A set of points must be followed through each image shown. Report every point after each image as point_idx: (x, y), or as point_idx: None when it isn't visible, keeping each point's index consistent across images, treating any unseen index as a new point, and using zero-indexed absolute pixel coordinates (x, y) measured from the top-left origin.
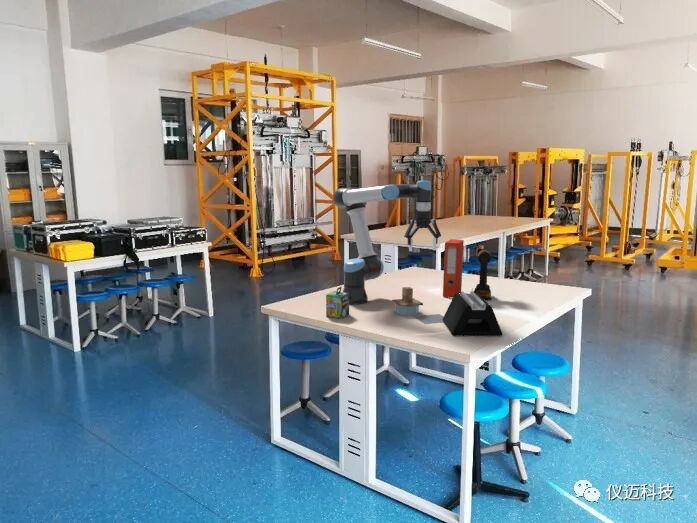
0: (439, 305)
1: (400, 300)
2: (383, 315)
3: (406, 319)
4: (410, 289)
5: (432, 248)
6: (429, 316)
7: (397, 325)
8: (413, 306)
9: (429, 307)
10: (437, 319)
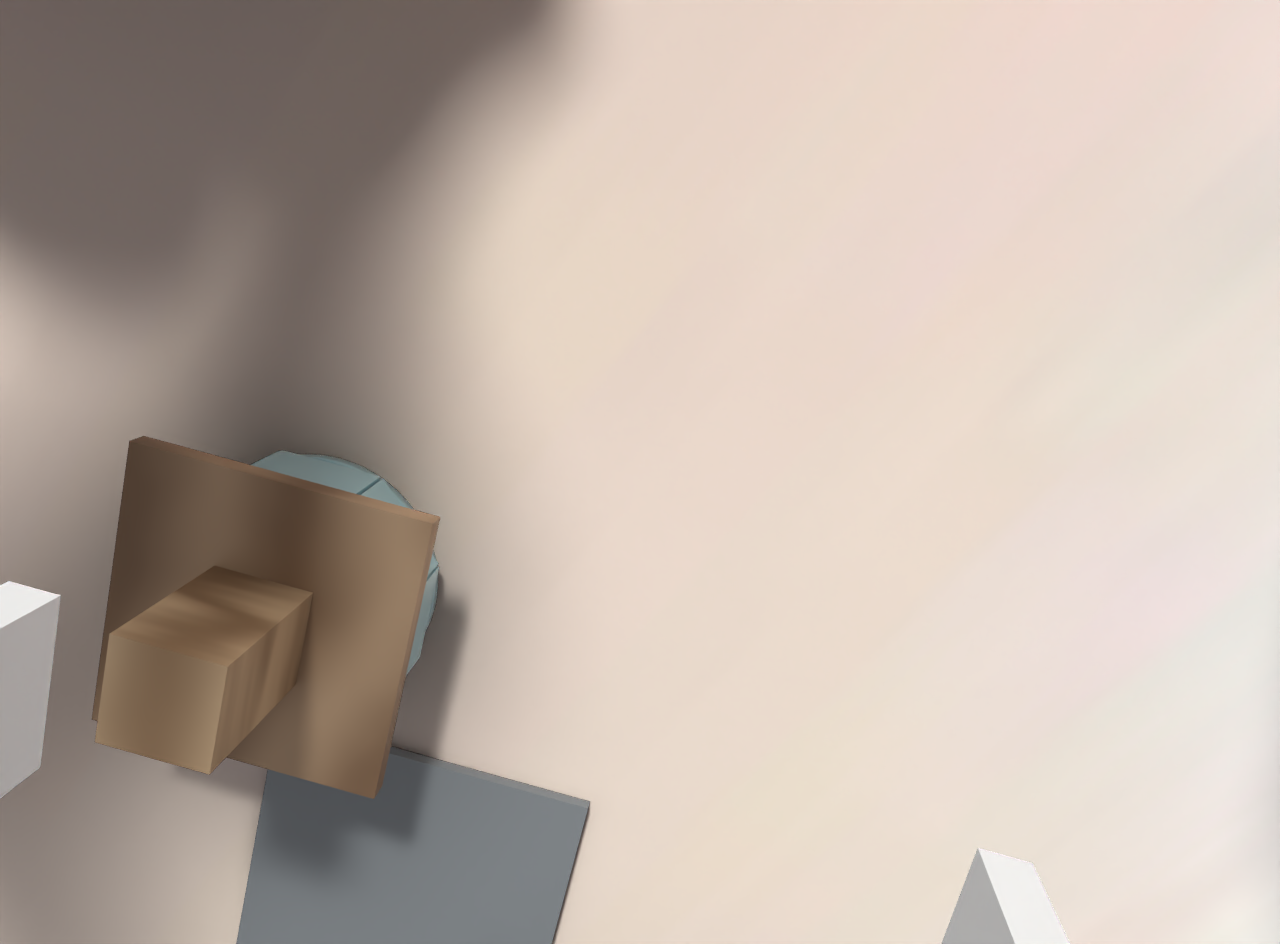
0: (922, 467)
1: (204, 539)
2: (53, 488)
3: None
4: (179, 758)
5: (985, 889)
6: (433, 821)
7: (4, 850)
8: None
9: (739, 479)
10: (431, 942)
